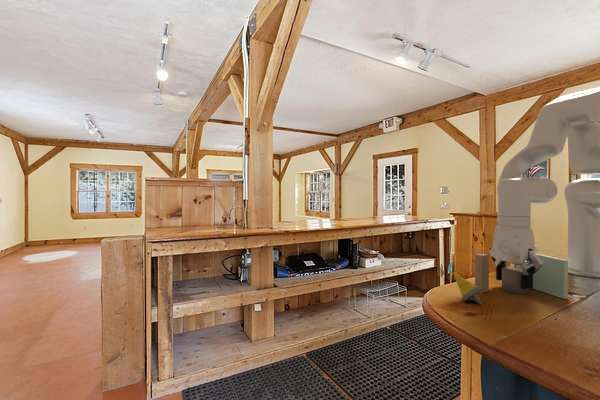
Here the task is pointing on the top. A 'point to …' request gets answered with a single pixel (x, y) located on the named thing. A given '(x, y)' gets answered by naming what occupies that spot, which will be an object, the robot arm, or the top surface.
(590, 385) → the top surface
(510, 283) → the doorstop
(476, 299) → the drill bit
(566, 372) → the top surface
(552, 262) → the door
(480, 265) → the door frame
